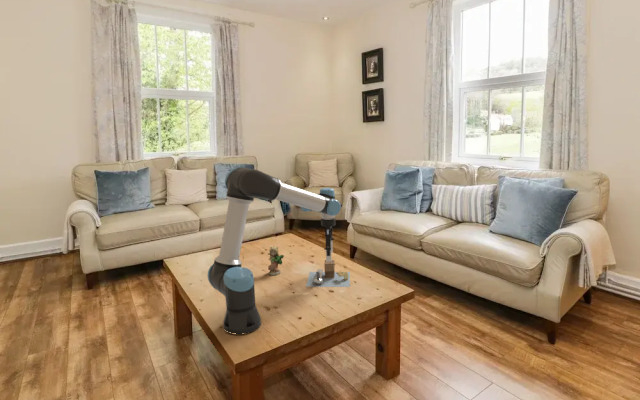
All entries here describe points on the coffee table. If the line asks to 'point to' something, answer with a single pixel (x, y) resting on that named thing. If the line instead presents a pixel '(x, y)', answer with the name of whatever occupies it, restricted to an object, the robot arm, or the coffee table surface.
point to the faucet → (320, 281)
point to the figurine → (274, 261)
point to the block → (329, 269)
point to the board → (328, 280)
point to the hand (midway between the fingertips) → (329, 256)
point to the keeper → (343, 275)
